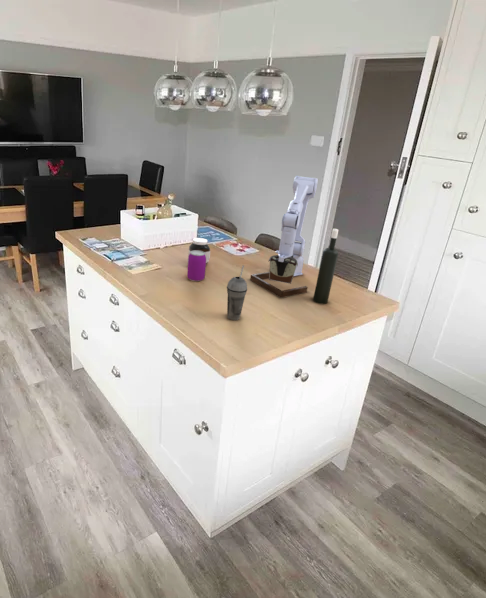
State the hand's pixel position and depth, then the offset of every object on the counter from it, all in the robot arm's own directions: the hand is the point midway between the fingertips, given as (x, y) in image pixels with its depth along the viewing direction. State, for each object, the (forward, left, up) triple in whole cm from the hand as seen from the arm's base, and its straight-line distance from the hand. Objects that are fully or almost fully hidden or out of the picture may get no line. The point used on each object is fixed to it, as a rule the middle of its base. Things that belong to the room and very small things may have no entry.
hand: (282, 273), depth 178 cm
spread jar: (+20, -36, -7) cm, 42 cm away
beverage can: (+30, -21, -7) cm, 37 cm away
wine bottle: (-6, +18, -7) cm, 20 cm away
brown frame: (0, -1, -6) cm, 6 cm away
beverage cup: (+36, +16, -7) cm, 40 cm away
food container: (0, 0, -3) cm, 3 cm away
